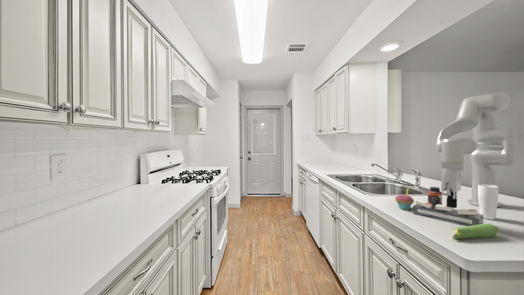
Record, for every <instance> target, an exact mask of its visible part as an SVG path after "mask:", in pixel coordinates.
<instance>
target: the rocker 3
mask: <svg viewBox="0 0 524 295" xmlns="http://www.w3.org/2000/svg"><path fill="white" fill-rule="evenodd" d="M457 210H458V211H457V212H458V214H466V215H476V214H478V210H477V209H473V208H472V209H470V208H469V209H457Z"/></svg>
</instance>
